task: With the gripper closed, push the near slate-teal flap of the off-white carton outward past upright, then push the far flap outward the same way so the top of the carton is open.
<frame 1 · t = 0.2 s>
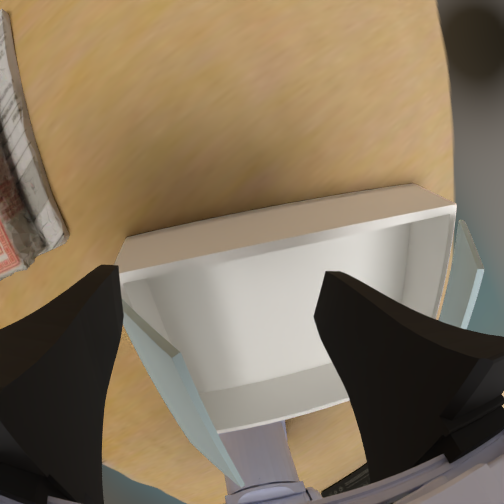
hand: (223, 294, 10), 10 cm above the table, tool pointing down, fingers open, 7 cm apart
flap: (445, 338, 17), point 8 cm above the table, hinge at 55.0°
router box: (394, 450, 46), on the table
carton: (293, 304, 24), on the table
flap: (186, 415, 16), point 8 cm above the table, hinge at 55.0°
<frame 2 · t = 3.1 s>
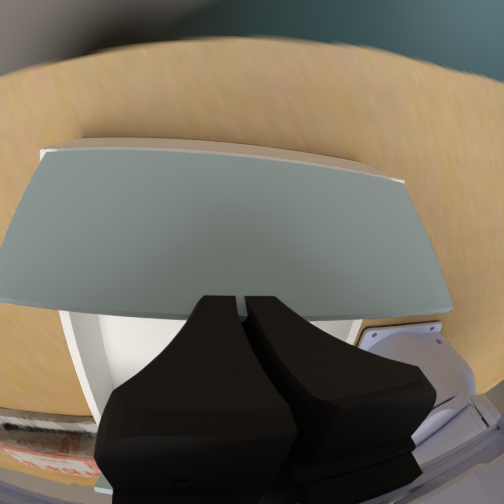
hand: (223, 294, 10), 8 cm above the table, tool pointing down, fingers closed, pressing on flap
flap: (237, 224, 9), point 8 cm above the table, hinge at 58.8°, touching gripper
packaged product: (58, 432, 26), on the table
carton: (208, 306, 20), on the table
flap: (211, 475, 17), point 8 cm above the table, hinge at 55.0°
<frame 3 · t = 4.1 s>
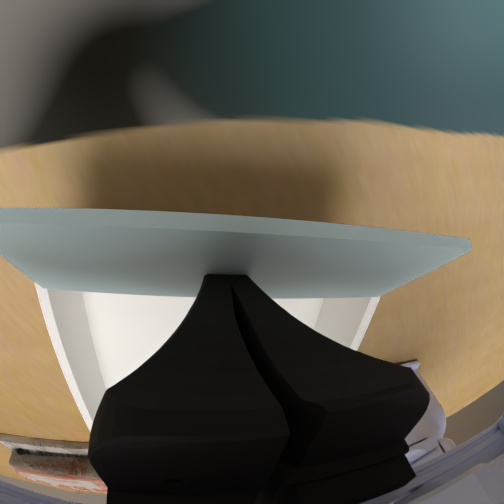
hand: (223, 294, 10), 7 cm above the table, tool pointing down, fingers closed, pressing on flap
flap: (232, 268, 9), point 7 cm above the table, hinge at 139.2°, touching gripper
packaged product: (66, 453, 28), on the table
carton: (200, 365, 22), on the table
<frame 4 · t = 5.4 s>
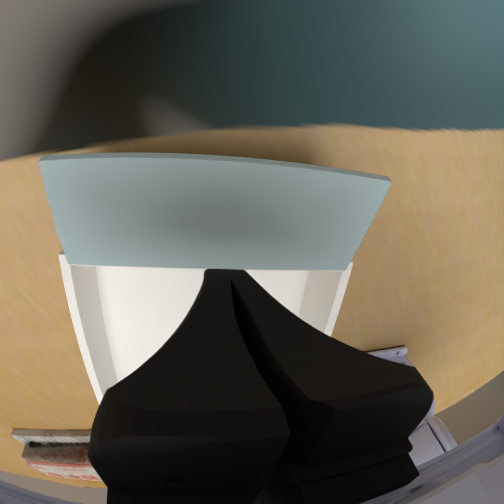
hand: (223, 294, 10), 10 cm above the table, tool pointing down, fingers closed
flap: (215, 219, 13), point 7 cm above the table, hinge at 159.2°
packaged product: (76, 444, 30), on the table
carton: (200, 346, 25), on the table
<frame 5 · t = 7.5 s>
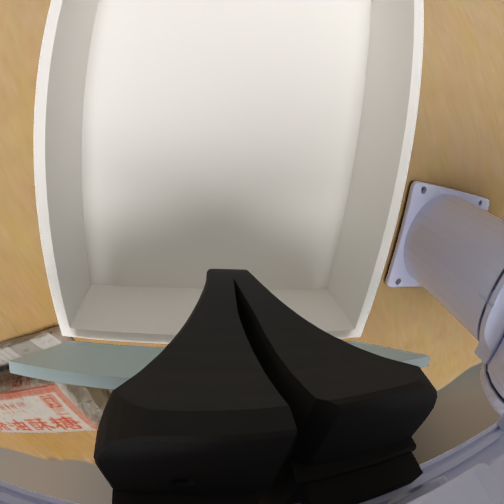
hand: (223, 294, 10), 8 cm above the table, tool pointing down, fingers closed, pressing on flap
packaged product: (29, 378, 21), on the table
carton: (223, 116, 15), on the table
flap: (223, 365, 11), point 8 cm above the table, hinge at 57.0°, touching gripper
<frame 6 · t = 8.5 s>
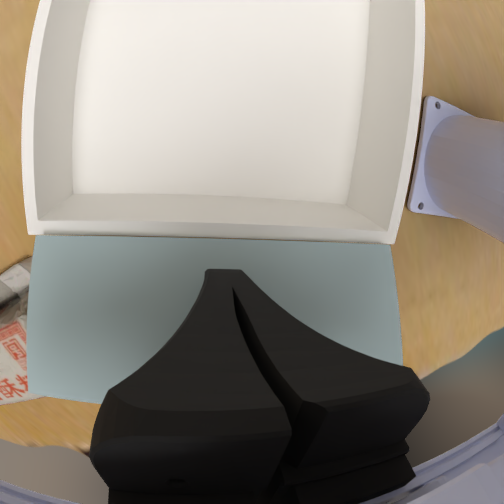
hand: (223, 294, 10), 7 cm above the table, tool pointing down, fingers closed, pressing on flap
packaged product: (3, 339, 18), on the table
carton: (231, 13, 12), on the table
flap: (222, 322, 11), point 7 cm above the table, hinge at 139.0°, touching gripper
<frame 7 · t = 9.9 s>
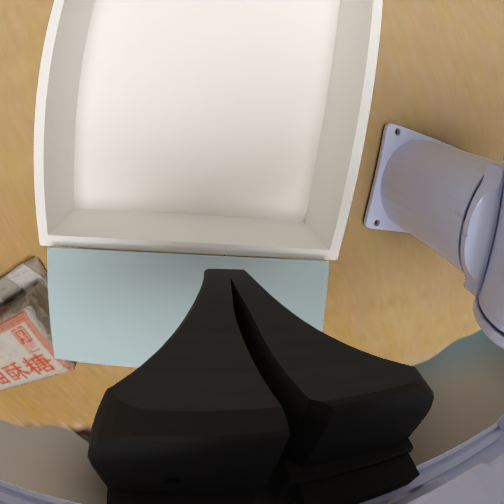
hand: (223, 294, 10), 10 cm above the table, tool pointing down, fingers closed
packaged product: (10, 329, 21), on the table
carton: (207, 54, 15), on the table
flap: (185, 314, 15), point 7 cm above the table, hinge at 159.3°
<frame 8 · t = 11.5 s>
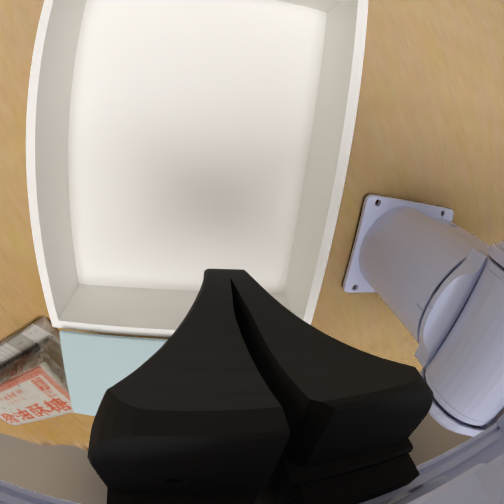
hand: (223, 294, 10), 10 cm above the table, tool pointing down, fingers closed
packaged product: (31, 371, 24), on the table
carton: (185, 142, 18), on the table
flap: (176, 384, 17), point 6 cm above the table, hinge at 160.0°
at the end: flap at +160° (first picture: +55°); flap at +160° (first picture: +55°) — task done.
